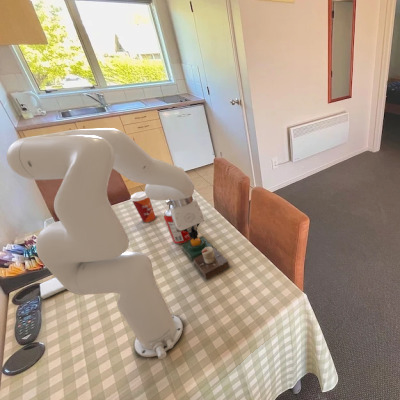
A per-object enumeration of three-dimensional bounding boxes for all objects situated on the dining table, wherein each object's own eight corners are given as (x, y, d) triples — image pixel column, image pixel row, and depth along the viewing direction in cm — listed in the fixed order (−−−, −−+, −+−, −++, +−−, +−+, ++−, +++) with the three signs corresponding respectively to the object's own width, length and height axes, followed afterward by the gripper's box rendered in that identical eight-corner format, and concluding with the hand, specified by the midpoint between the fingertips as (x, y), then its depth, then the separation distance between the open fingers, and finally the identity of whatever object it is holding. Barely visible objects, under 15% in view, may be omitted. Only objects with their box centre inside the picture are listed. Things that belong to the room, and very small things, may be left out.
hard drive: (42, 286, 96) (84, 268, 104) (43, 299, 91) (87, 279, 99) (39, 283, 95) (82, 265, 103) (40, 296, 90) (85, 276, 98)
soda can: (176, 247, 114) (165, 219, 106) (171, 239, 119) (160, 211, 111) (195, 239, 118) (185, 211, 110) (189, 231, 123) (179, 204, 115)
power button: (202, 243, 110) (201, 240, 109) (193, 247, 108) (192, 244, 107) (198, 239, 112) (197, 236, 112) (190, 243, 110) (189, 240, 109)
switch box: (213, 250, 112) (211, 243, 110) (192, 261, 106) (189, 253, 104) (203, 239, 118) (201, 232, 116) (183, 249, 113) (180, 242, 111)
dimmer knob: (212, 254, 105) (209, 244, 102) (217, 260, 102) (214, 249, 100) (203, 260, 103) (199, 249, 100) (207, 265, 100) (204, 254, 97)
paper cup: (152, 223, 130) (142, 198, 122) (137, 223, 130) (125, 198, 122) (161, 214, 136) (151, 190, 129) (146, 214, 136) (136, 190, 129)
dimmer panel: (229, 267, 103) (227, 261, 102) (206, 279, 98) (204, 273, 96) (216, 253, 110) (214, 247, 108) (195, 264, 105) (192, 258, 103)
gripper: (163, 211, 93) (179, 250, 102) (205, 195, 101) (215, 233, 111) (157, 203, 97) (172, 241, 107) (197, 189, 106) (208, 225, 116)
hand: (194, 237), depth 109 cm, fingers closed
